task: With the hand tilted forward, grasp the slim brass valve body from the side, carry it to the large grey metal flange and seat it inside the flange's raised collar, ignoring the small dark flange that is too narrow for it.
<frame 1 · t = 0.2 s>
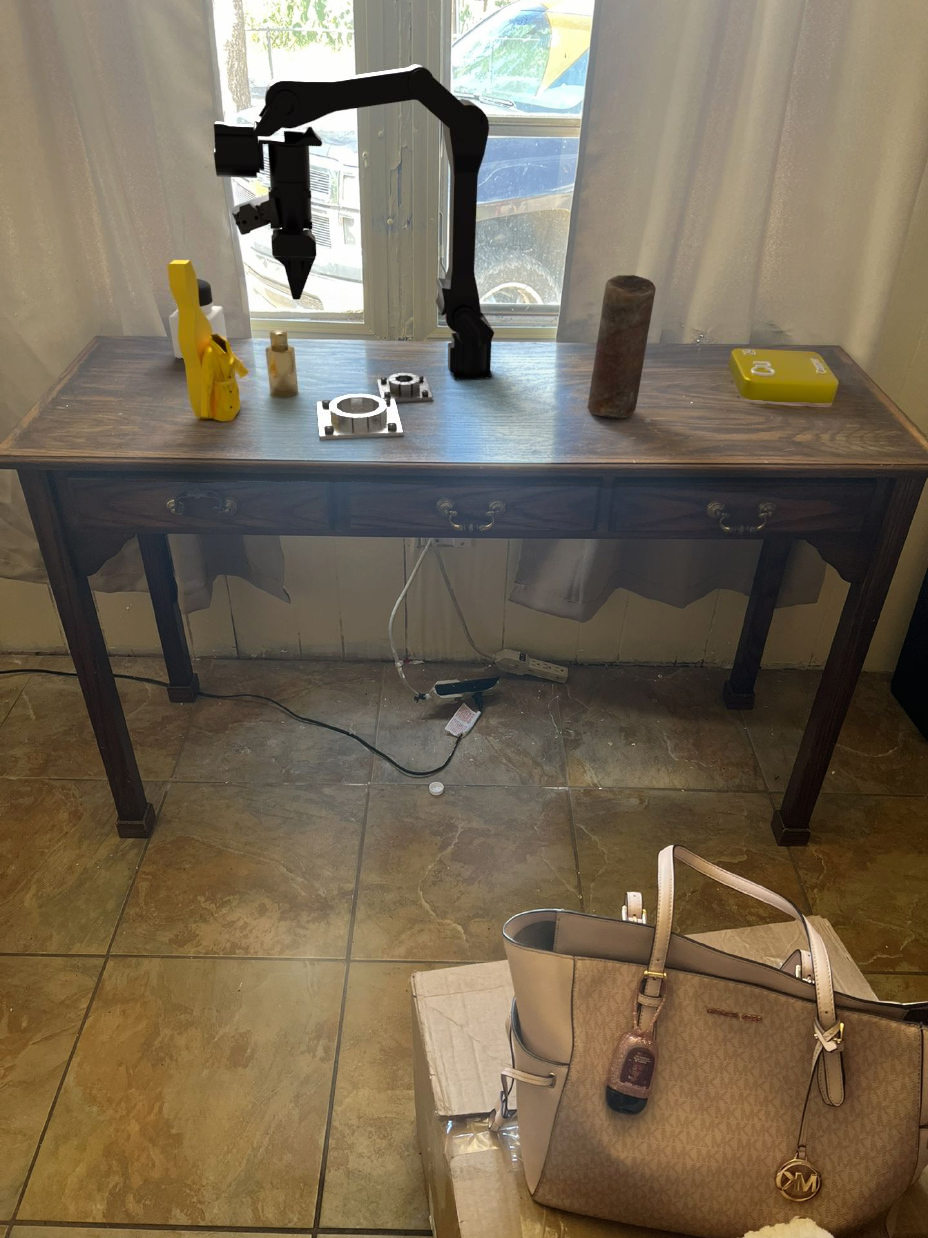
hand: (295, 289, 137), 14 cm above the table, tool pointing down, fingers open, 9 cm apart
flange small: (404, 391, 142), on the table
medicine bottle: (202, 353, 154), on the table
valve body: (284, 392, 141), on the table
flange large: (358, 420, 133), on the table
yellow tall sculpted piece: (217, 414, 134), on the table
element tile: (777, 391, 148), on the table
rusty brown cylinder: (611, 415, 138), on the table
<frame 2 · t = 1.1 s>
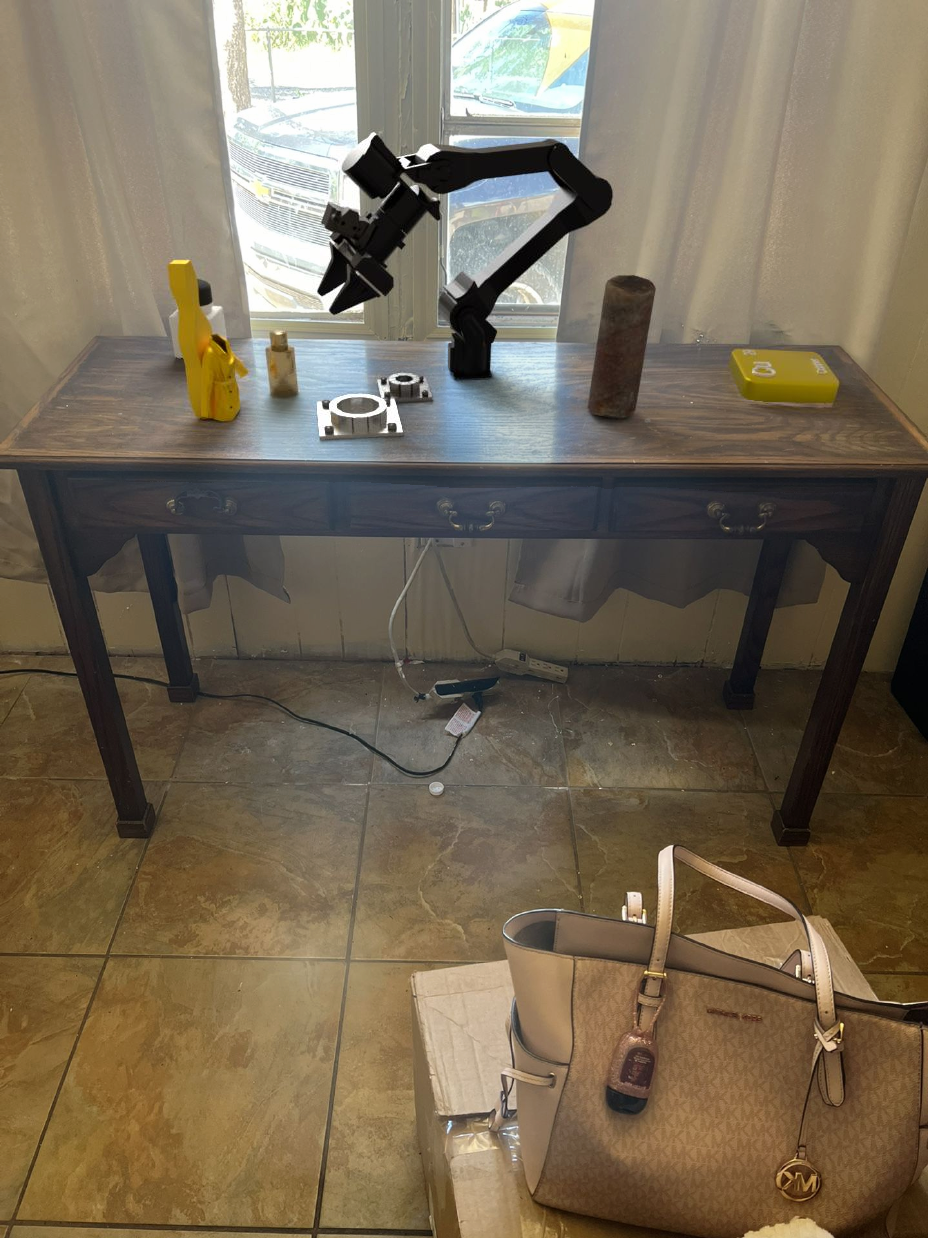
hand: (325, 303, 135), 13 cm above the table, tool tilted 45°, fingers open, 9 cm apart
nothing on the table moved.
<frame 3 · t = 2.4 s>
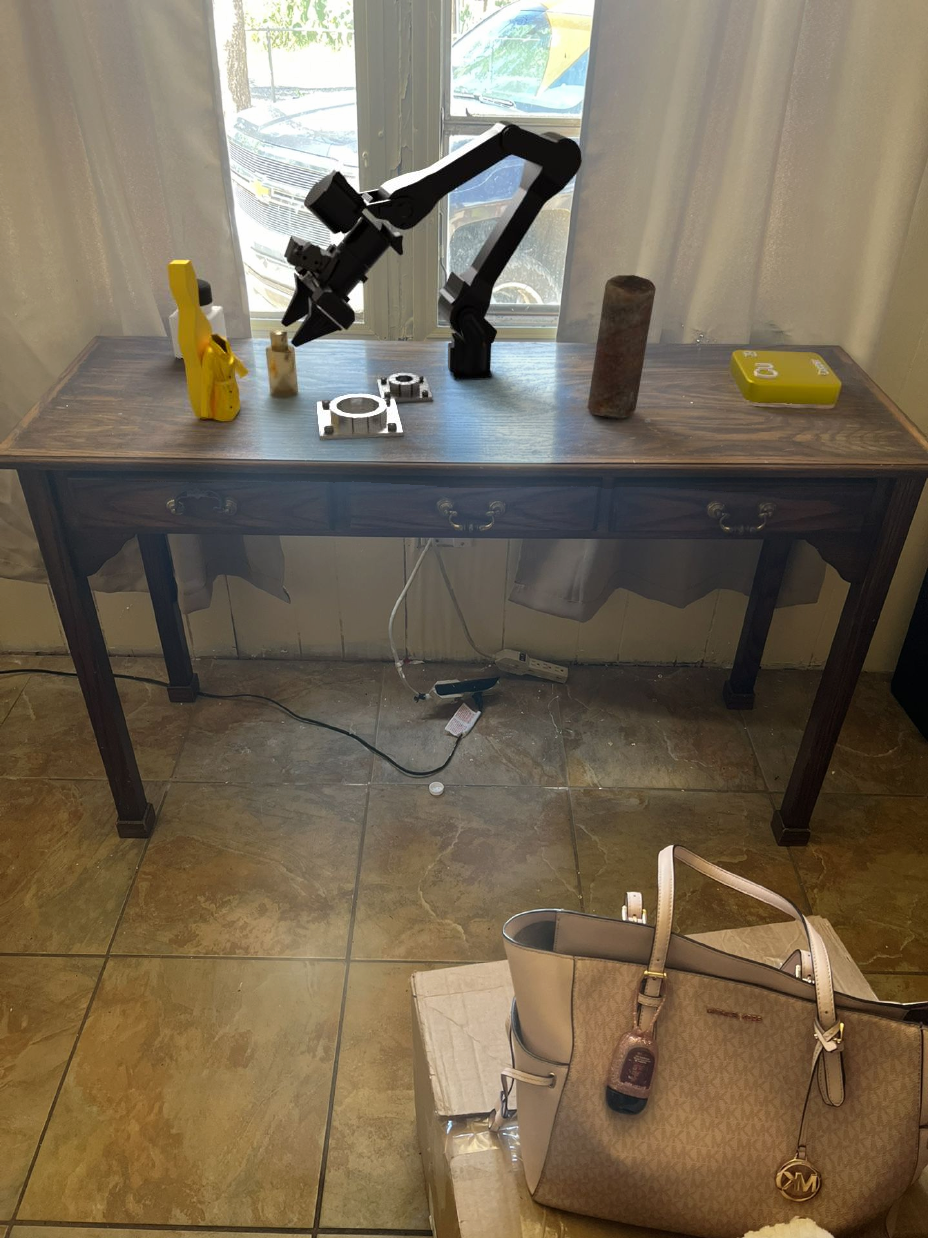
hand: (288, 334, 136), 9 cm above the table, tool tilted 45°, fingers open, 9 cm apart
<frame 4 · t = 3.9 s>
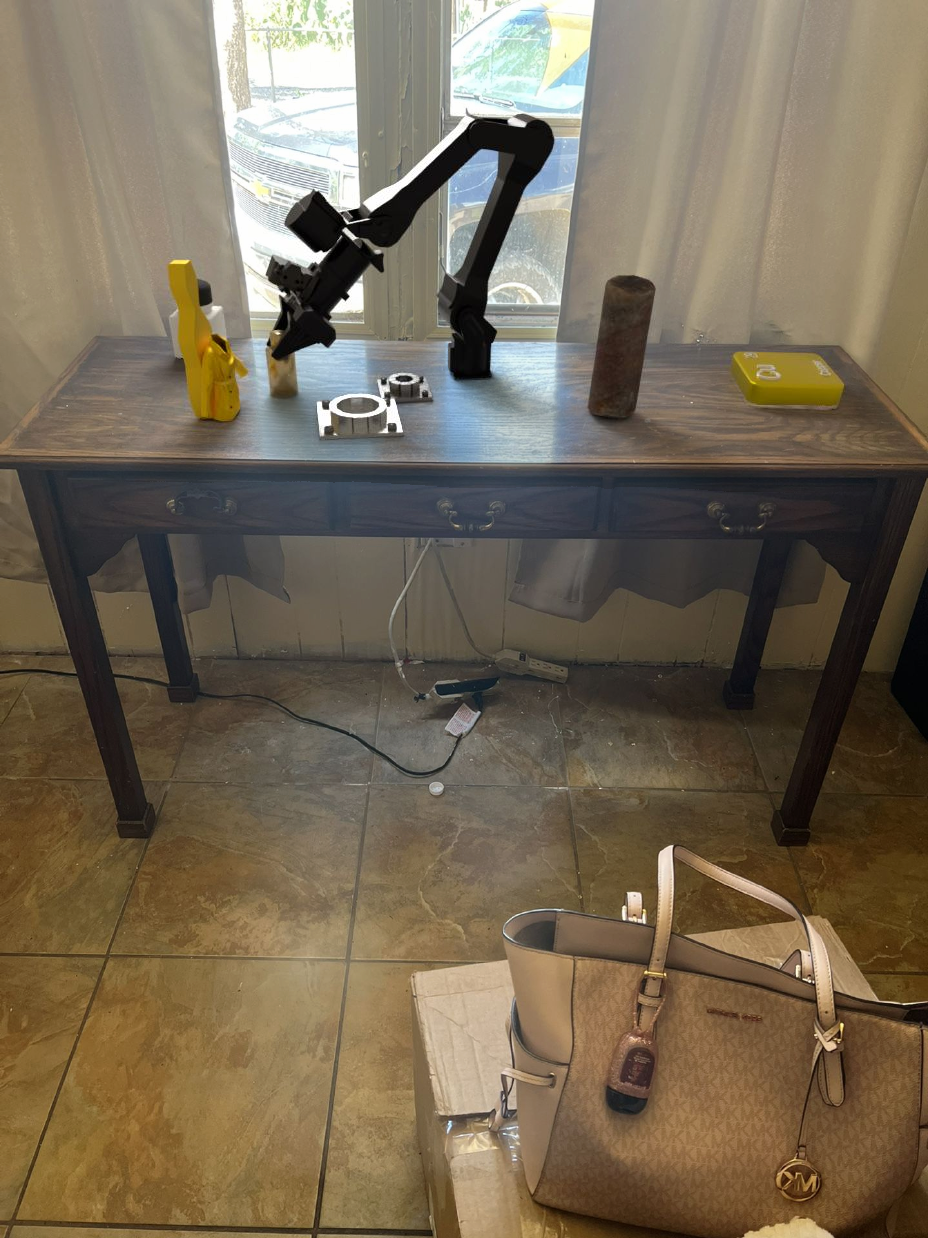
hand: (271, 352, 137), 7 cm above the table, tool tilted 45°, fingers closed on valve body, 4 cm apart
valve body: (284, 391, 141), on the table, touching gripper
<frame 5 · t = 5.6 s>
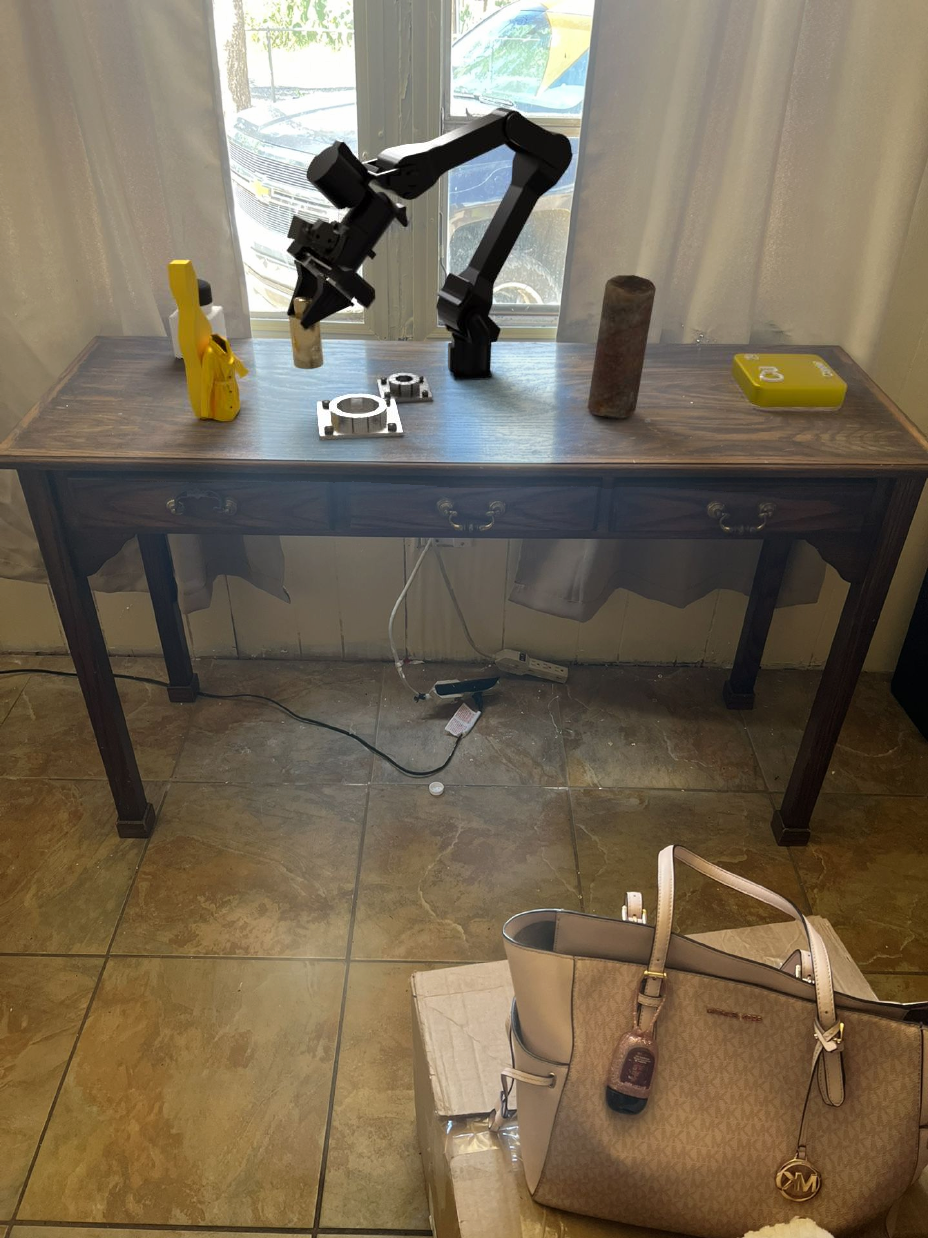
hand: (295, 321, 128), 13 cm above the table, tool tilted 45°, fingers closed on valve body, 4 cm apart
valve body: (308, 363, 133), point 7 cm above the table, touching gripper
when the fingers open (9 cm above the table, at t = 7.5 s): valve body drops 1 cm, resting on flange large.
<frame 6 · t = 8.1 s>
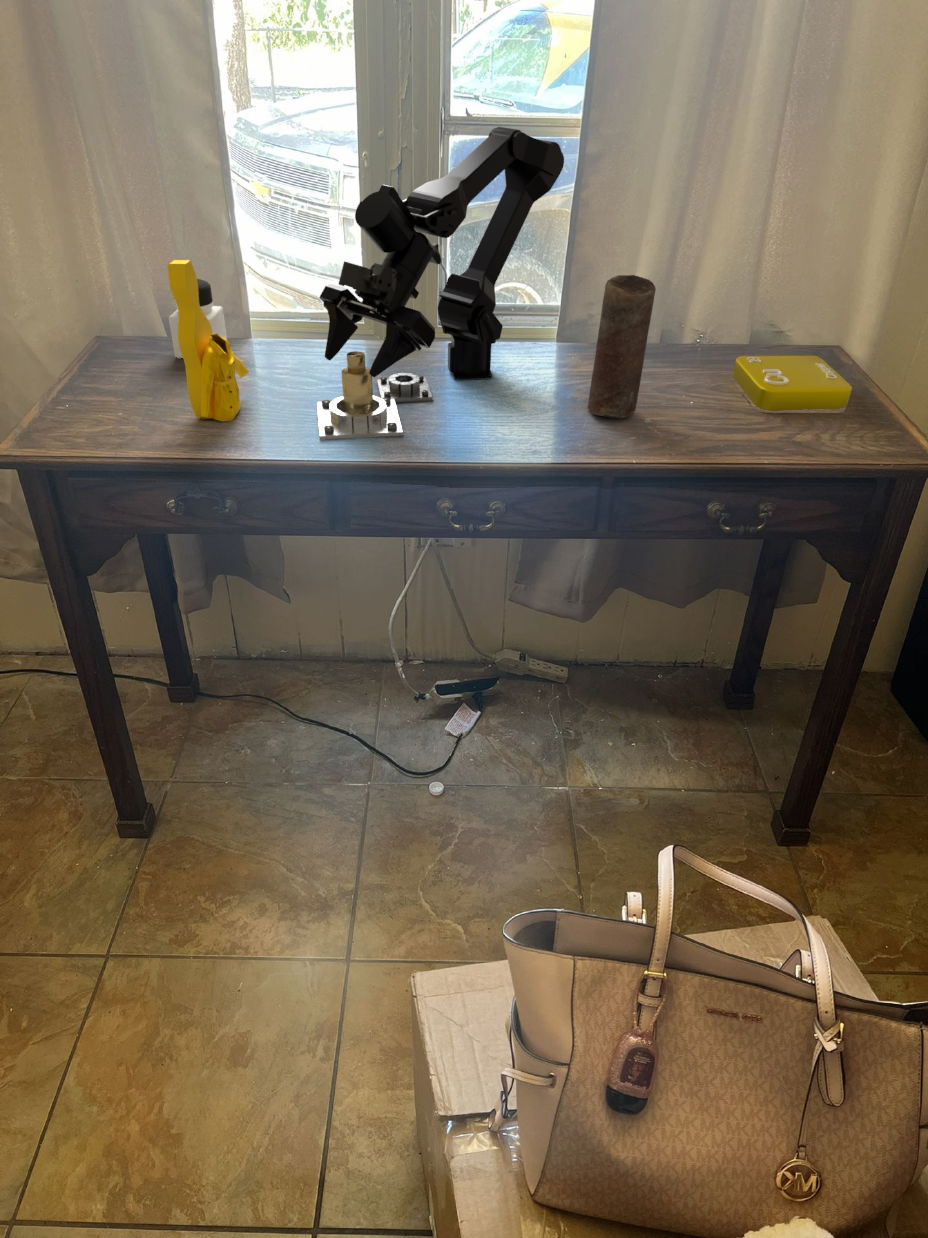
hand: (348, 366, 127), 9 cm above the table, tool tilted 45°, fingers open, 9 cm apart
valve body: (359, 416, 133), point 1 cm above the table, touching flange large
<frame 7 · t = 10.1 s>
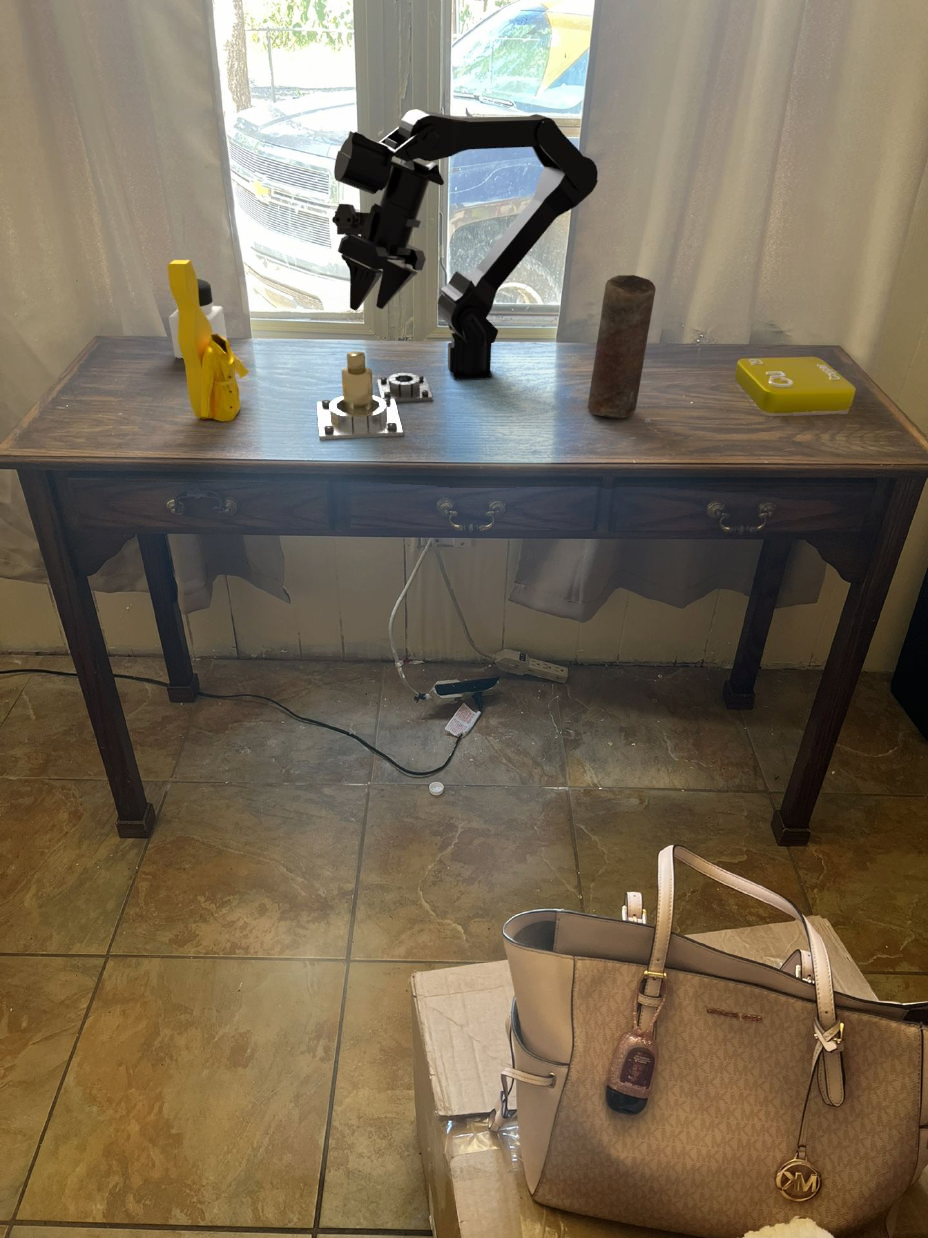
hand: (366, 308, 137), 12 cm above the table, tool tilted 20°, fingers open, 9 cm apart
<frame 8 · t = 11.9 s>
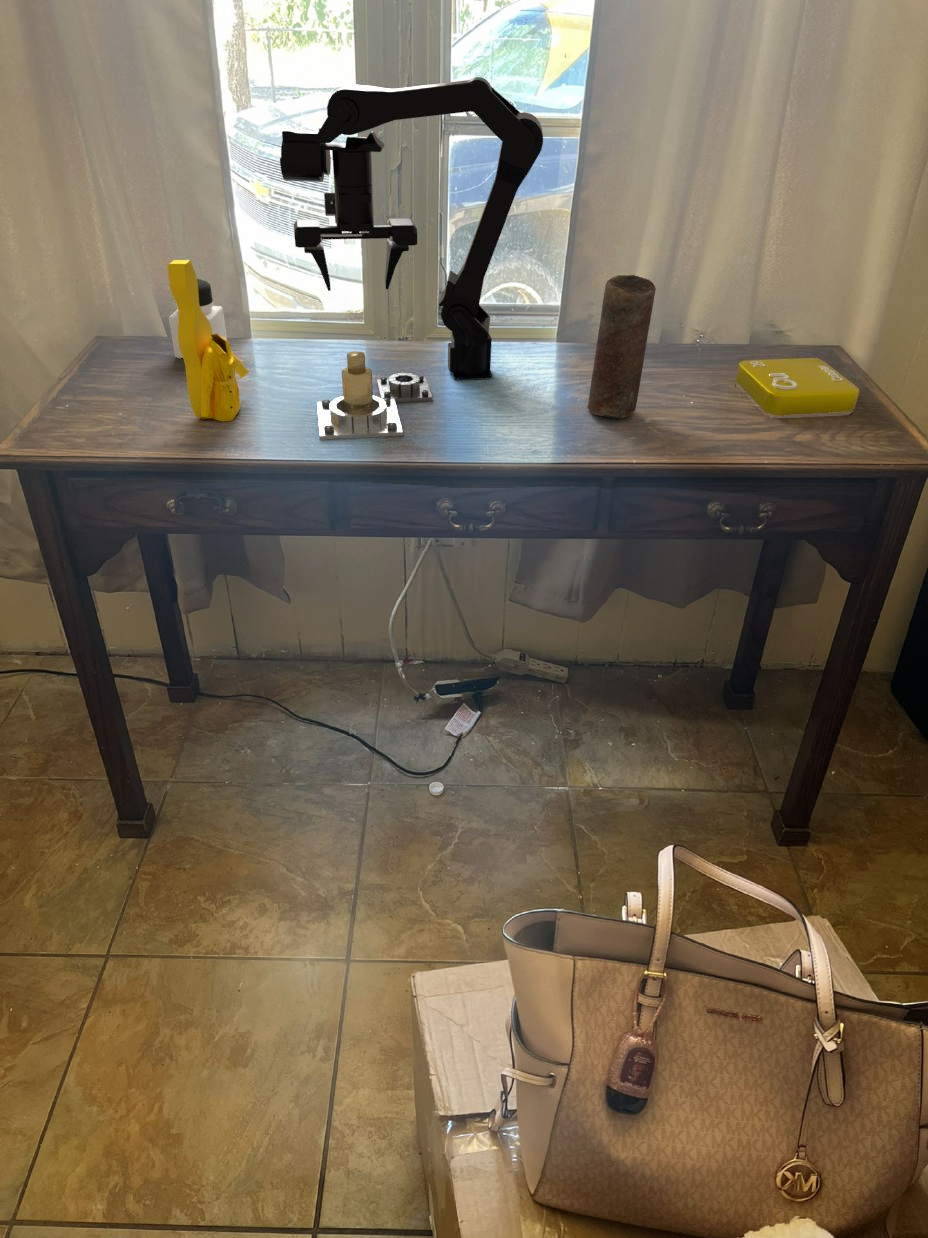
hand: (358, 289, 142), 13 cm above the table, tool pointing down, fingers open, 9 cm apart
at the end: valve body 0.1 cm off-centre on the flange large, point 0.6 cm above the flange large's base; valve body tilted 0°; the gripper is holding nothing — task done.
